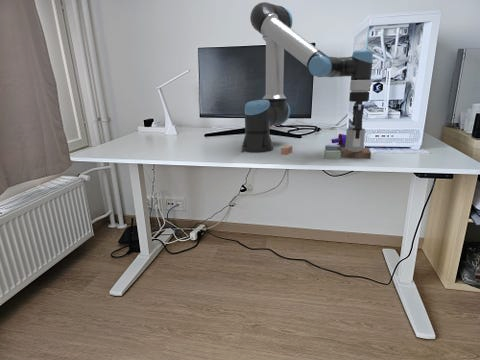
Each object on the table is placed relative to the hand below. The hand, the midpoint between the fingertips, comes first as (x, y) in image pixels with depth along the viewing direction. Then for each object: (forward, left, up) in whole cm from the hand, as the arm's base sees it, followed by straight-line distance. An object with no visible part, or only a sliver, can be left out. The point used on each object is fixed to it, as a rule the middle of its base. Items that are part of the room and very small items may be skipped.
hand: (355, 143), depth 133 cm
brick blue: (-9, +6, -5) cm, 12 cm away
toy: (-10, +19, -3) cm, 22 cm away
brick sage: (-9, -6, -5) cm, 12 cm away
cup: (0, 0, -3) cm, 3 cm away
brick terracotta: (-29, 0, -5) cm, 29 cm away
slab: (0, 0, -5) cm, 5 cm away
